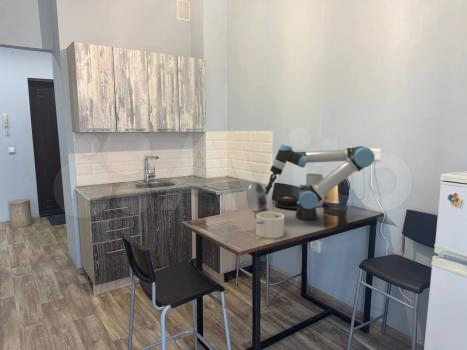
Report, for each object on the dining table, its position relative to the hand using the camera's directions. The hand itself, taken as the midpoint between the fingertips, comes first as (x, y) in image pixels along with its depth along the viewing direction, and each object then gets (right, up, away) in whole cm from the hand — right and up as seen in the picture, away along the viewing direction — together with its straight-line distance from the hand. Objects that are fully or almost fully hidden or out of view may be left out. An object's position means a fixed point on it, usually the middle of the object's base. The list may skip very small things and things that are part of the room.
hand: (264, 197), depth 221 cm
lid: (-6, +1, -19) cm, 20 cm away
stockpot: (+1, -20, -22) cm, 30 cm away
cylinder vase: (+43, -10, +46) cm, 64 cm away
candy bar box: (-1, -12, +30) cm, 33 cm away
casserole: (+22, -11, +42) cm, 49 cm away
